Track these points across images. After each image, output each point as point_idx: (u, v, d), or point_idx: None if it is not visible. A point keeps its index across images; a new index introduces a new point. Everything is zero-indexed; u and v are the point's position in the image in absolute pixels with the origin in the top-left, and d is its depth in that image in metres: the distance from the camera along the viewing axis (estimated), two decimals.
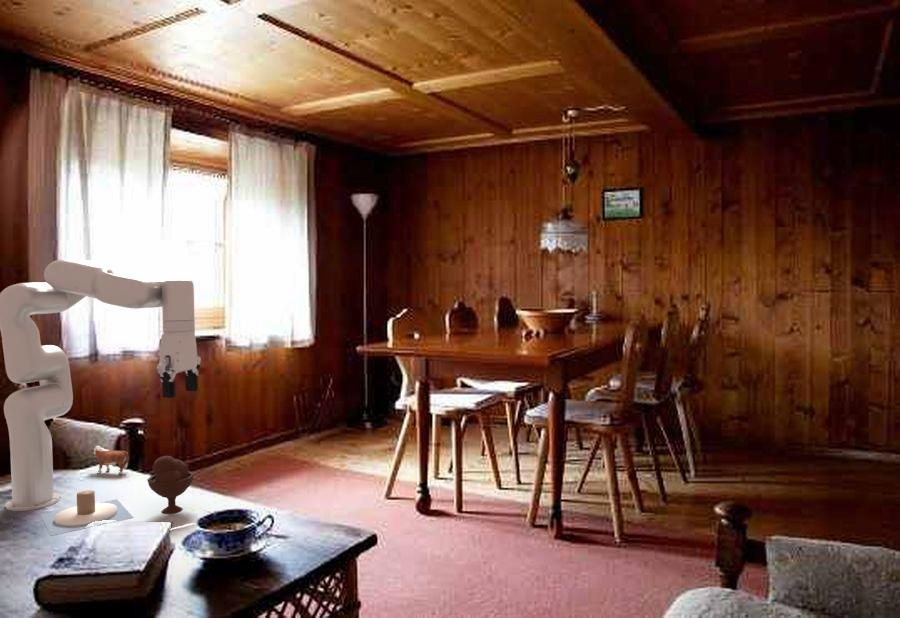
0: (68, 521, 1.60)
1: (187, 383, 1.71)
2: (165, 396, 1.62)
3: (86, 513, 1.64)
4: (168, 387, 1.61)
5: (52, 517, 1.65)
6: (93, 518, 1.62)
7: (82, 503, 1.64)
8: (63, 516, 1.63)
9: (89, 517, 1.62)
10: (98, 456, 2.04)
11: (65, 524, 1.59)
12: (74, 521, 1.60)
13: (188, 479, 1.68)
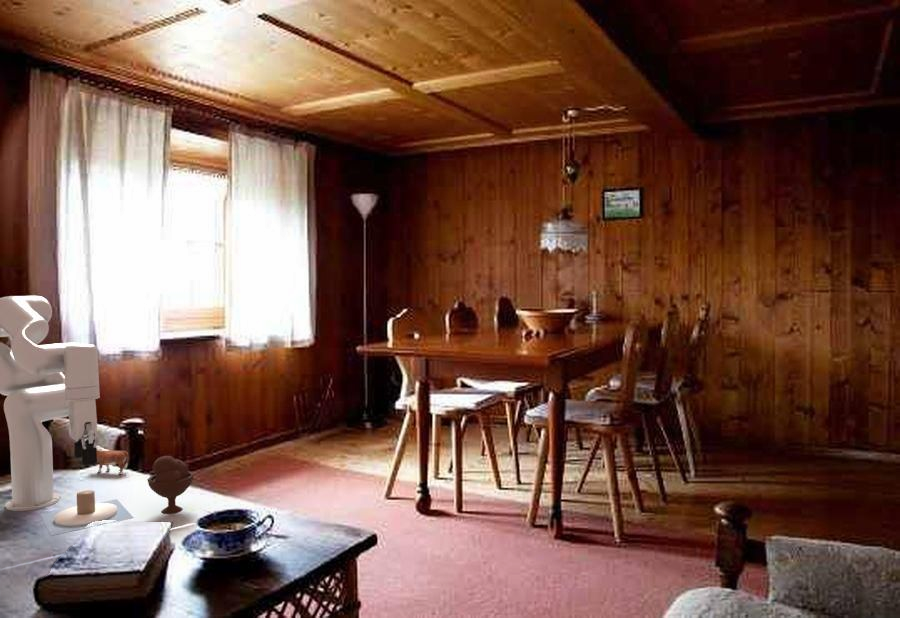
0: (68, 520, 1.60)
1: (78, 450, 1.68)
2: (86, 463, 1.61)
3: (86, 513, 1.64)
4: (92, 453, 1.61)
5: (52, 517, 1.65)
6: (93, 518, 1.62)
7: (82, 503, 1.64)
8: (63, 516, 1.63)
9: (89, 517, 1.62)
10: (98, 456, 2.04)
11: (65, 524, 1.59)
12: (74, 521, 1.60)
13: (188, 479, 1.68)
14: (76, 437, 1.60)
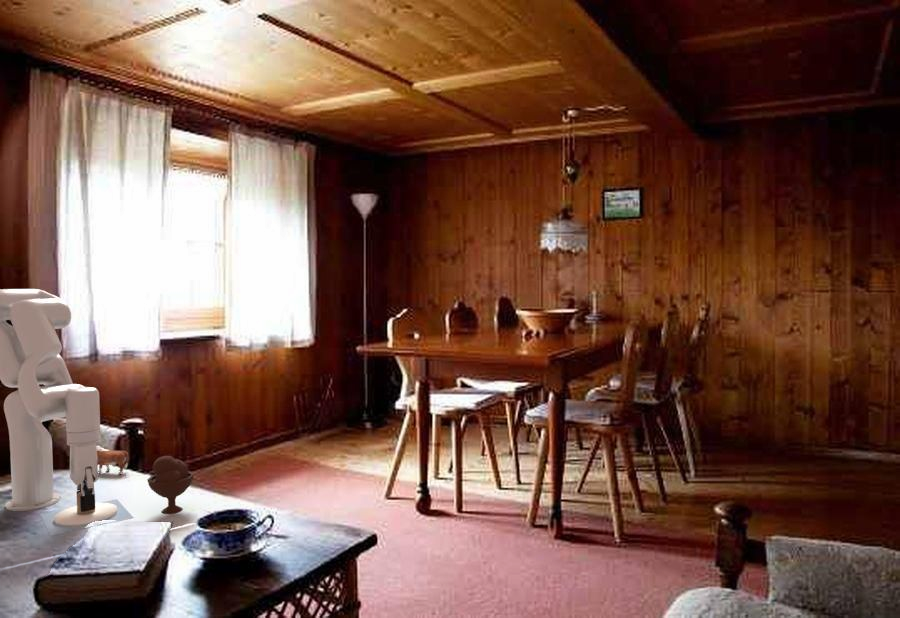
0: (68, 520, 1.60)
1: None
2: (84, 510, 1.63)
3: (86, 513, 1.64)
4: (90, 500, 1.64)
5: (52, 517, 1.65)
6: (93, 518, 1.62)
7: None
8: (63, 516, 1.63)
9: (89, 517, 1.62)
10: (98, 456, 2.04)
11: (65, 524, 1.59)
12: (74, 521, 1.60)
13: (188, 479, 1.68)
14: (77, 482, 1.60)
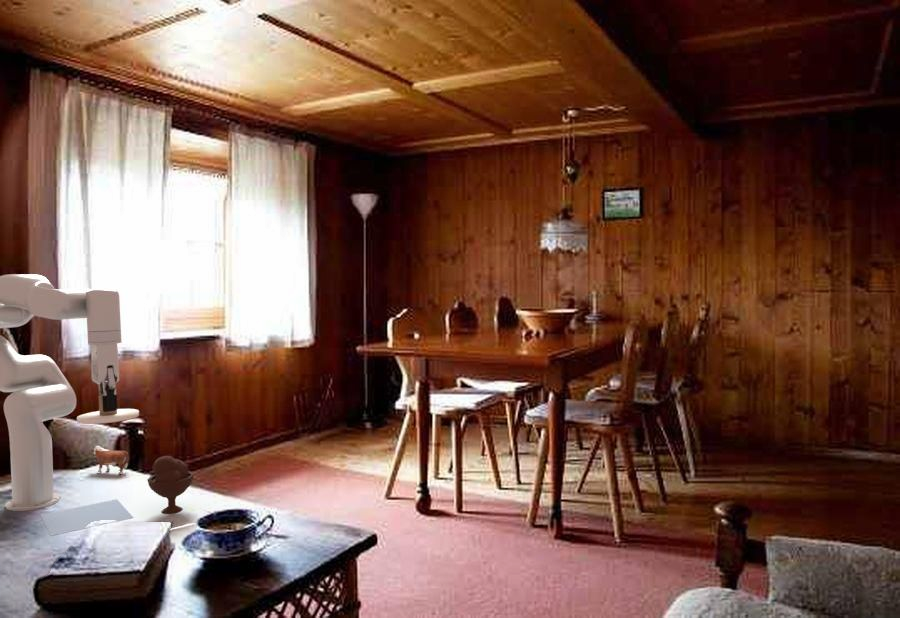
0: (91, 419, 1.60)
1: None
2: (106, 410, 1.63)
3: (108, 414, 1.64)
4: (112, 400, 1.63)
5: (52, 517, 1.65)
6: (115, 417, 1.61)
7: None
8: (85, 416, 1.63)
9: (111, 416, 1.62)
10: (98, 456, 2.04)
11: (88, 421, 1.59)
12: (97, 419, 1.59)
13: (188, 479, 1.68)
14: (98, 380, 1.60)
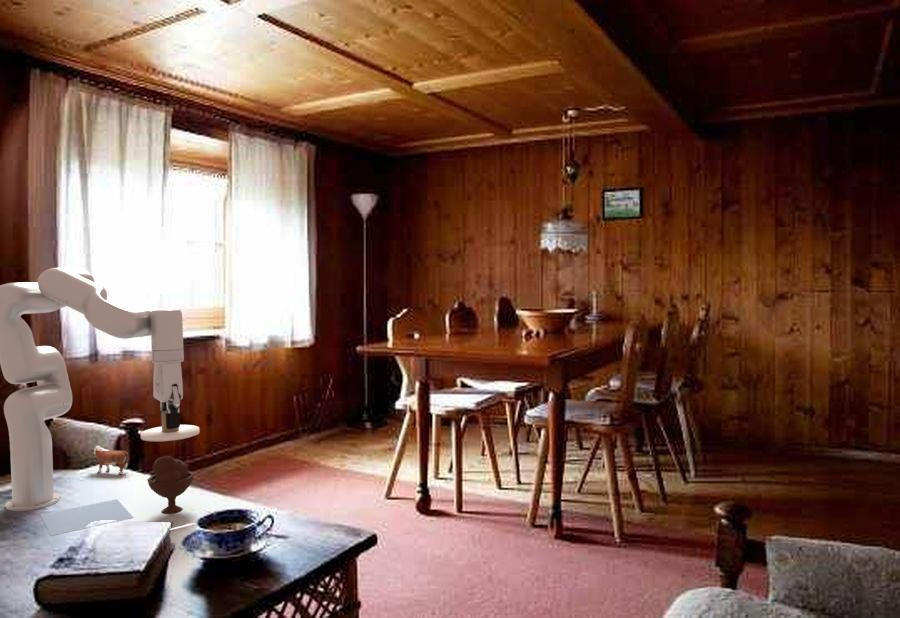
0: (156, 436, 1.63)
1: None
2: (170, 427, 1.66)
3: (171, 431, 1.67)
4: (176, 418, 1.66)
5: (52, 517, 1.65)
6: (179, 434, 1.64)
7: None
8: (149, 433, 1.66)
9: (175, 434, 1.65)
10: (98, 456, 2.04)
11: (153, 439, 1.62)
12: (162, 436, 1.62)
13: (188, 479, 1.68)
14: (164, 398, 1.63)
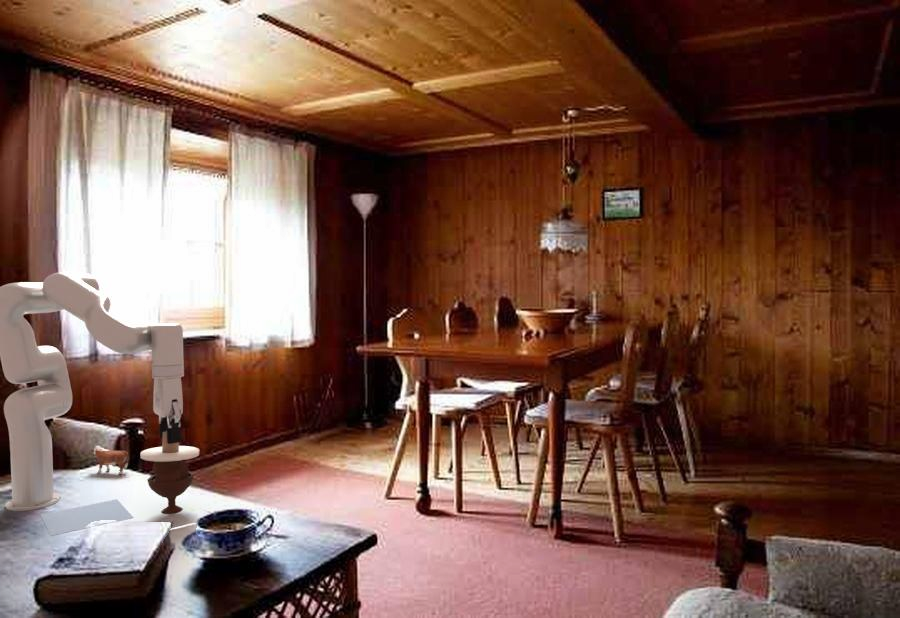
0: (156, 456, 1.63)
1: (162, 431, 1.70)
2: (170, 442, 1.65)
3: (171, 451, 1.67)
4: (177, 432, 1.66)
5: (52, 517, 1.65)
6: (179, 455, 1.65)
7: None
8: (149, 453, 1.66)
9: (175, 455, 1.65)
10: (98, 456, 2.04)
11: (153, 459, 1.62)
12: (162, 456, 1.63)
13: (188, 479, 1.68)
14: (164, 414, 1.63)
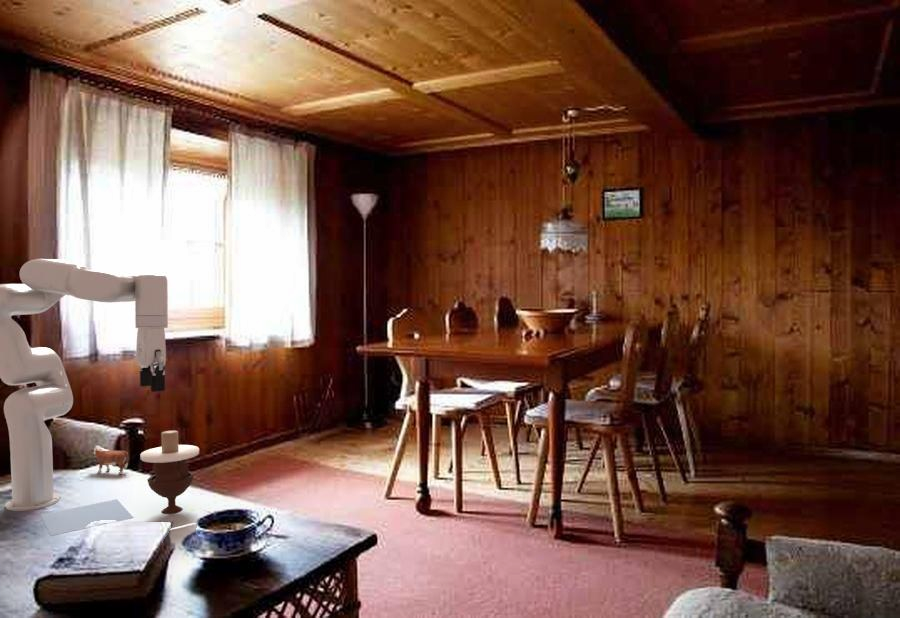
0: (156, 457, 1.63)
1: (143, 378, 1.70)
2: (154, 390, 1.63)
3: (171, 452, 1.67)
4: (161, 380, 1.63)
5: (52, 517, 1.65)
6: (179, 455, 1.65)
7: (167, 441, 1.67)
8: (148, 454, 1.66)
9: (175, 455, 1.65)
10: (98, 456, 2.04)
11: (153, 460, 1.62)
12: (162, 458, 1.63)
13: (188, 479, 1.68)
14: (146, 363, 1.62)
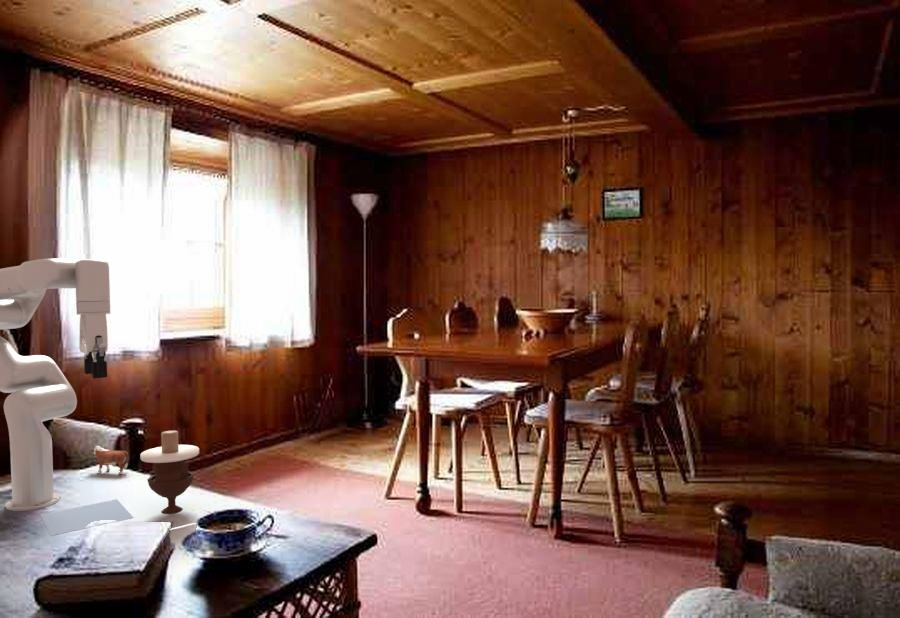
0: (156, 457, 1.63)
1: (88, 366, 1.68)
2: (96, 377, 1.61)
3: (171, 452, 1.67)
4: (102, 367, 1.61)
5: (52, 517, 1.65)
6: (179, 455, 1.65)
7: (167, 442, 1.67)
8: (148, 454, 1.66)
9: (175, 455, 1.65)
10: (98, 456, 2.04)
11: (153, 460, 1.62)
12: (162, 458, 1.63)
13: (188, 479, 1.68)
14: (87, 350, 1.60)
